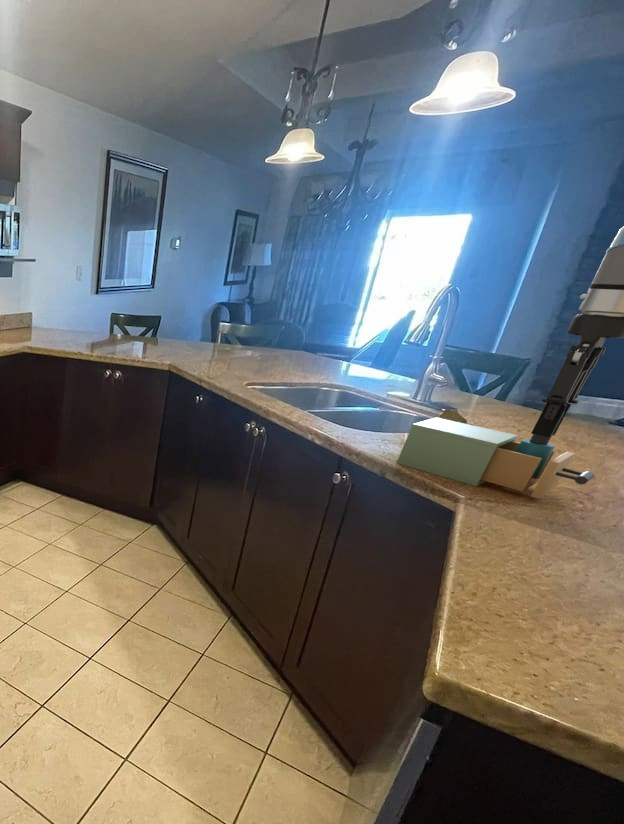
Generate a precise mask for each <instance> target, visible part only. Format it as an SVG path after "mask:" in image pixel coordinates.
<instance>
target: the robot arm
mask: <svg viewBox="0 0 624 824" xmlns="http://www.w3.org/2000/svg"><path fill="white" fill-rule="evenodd" d="M579 299H580V300H583V301H581V304H580V306H579V307H578V310H579V312H581V313H578V314H576V315H574V316H573V318H572V320H571V322H570V324H569V327H568V329H567V330H566V332H567V334H568V335H573V336H581V338H580V339H579V341H578V343H577V344H572V345H571V346H570V348H569V350H568V352H567V354H566V359H565V361H564V362H563V365H562V367H561V369H560V371H559V373H558V375H557V377H556V380H555V382H554V383H553V385H552V387H551V390H550V392H549V394H548V395H547V396H546V398H542V400H541V403H545V406H544V407H543V409H542V411H541V413H540V415H539V417H538V420H537V421H536V423H535V425H534V427H533V429H532V431H531V432H530V434H531V435H533V434H536V435H540V436H545V437H551V435H552V433H553V431H554V429H555V428H556V429H555V431H554V433H553V435H552V436H556V434H557V432H558V429H559V428H560V426H561V424H562V423H563V421H564V419H565V417H566V415H567V414H568V411H569V410H570V408H571V406H572V404H573V405H578V404H579V401H580V400H578V397H579V394H580V392H581V390H582V388H583V387H584V385H585V384H586V381H587V379H588V378H589V376H590V374H591V373H592V371H593V369H595V367H596V365H597V363H598V362H599V359H600V357H602V356H603V355H604V353H606V349H607V348H606V347H603V345H604V343H605V342H606V339H624V225H623V226H622V227H620V229H619V230H618V232H617V233H616V235H615V237H614V238H613V240H612V242H611V243H610V246H609V247H608V248H607V249H606V251H605V255H604V257H603V259H602V261H601V264H600V265H599V267H598V270H597V271H596V274H595V276H594V278H593V279H592V281H591V283H590V285H589V287H588V290H587V293H583V294H581V295H580V296H579ZM564 411H565V413H564ZM563 413H564V414H563ZM562 415H563V416H562ZM561 416H562V418H561ZM560 418H561V420H560ZM559 420H560V422H559ZM558 422H559V424H558ZM557 424H558V426H557ZM556 426H557V427H556ZM551 438H552V437H551Z"/></svg>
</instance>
